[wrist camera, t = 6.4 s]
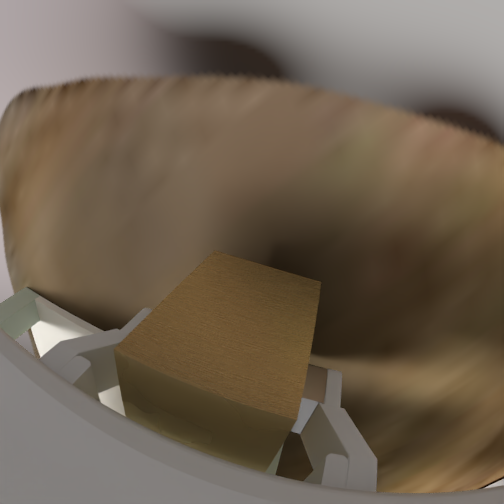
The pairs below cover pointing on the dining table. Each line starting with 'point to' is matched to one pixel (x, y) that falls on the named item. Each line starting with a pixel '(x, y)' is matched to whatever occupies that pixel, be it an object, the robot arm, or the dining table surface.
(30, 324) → the frame
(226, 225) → the dining table surface
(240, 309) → the block
